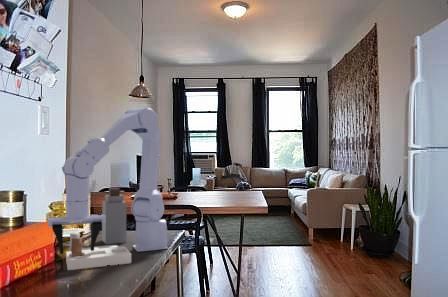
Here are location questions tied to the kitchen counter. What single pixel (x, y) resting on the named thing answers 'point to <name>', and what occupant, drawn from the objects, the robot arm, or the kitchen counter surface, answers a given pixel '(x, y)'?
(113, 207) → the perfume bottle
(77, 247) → the terracotta pin
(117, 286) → the kitchen counter surface
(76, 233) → the studded grey block
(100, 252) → the peg board
